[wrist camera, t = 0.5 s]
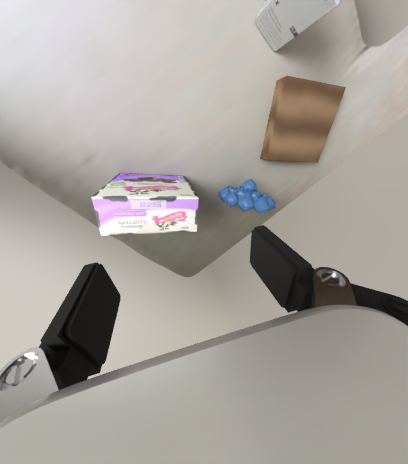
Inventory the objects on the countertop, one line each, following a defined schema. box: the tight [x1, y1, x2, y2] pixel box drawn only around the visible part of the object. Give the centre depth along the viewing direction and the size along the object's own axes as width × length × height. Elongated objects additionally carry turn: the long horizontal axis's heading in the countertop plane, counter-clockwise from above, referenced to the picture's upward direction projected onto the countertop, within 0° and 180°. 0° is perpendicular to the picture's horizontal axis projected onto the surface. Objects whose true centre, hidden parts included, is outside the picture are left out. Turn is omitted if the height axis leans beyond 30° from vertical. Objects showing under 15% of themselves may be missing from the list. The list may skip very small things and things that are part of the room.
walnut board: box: [260, 76, 346, 162], centre depth 35 cm, size 14×14×3 cm
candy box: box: [92, 173, 199, 236], centre depth 29 cm, size 14×6×16 cm, turn 85°
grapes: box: [218, 179, 275, 213], centre depth 36 cm, size 12×7×12 cm, turn 82°
